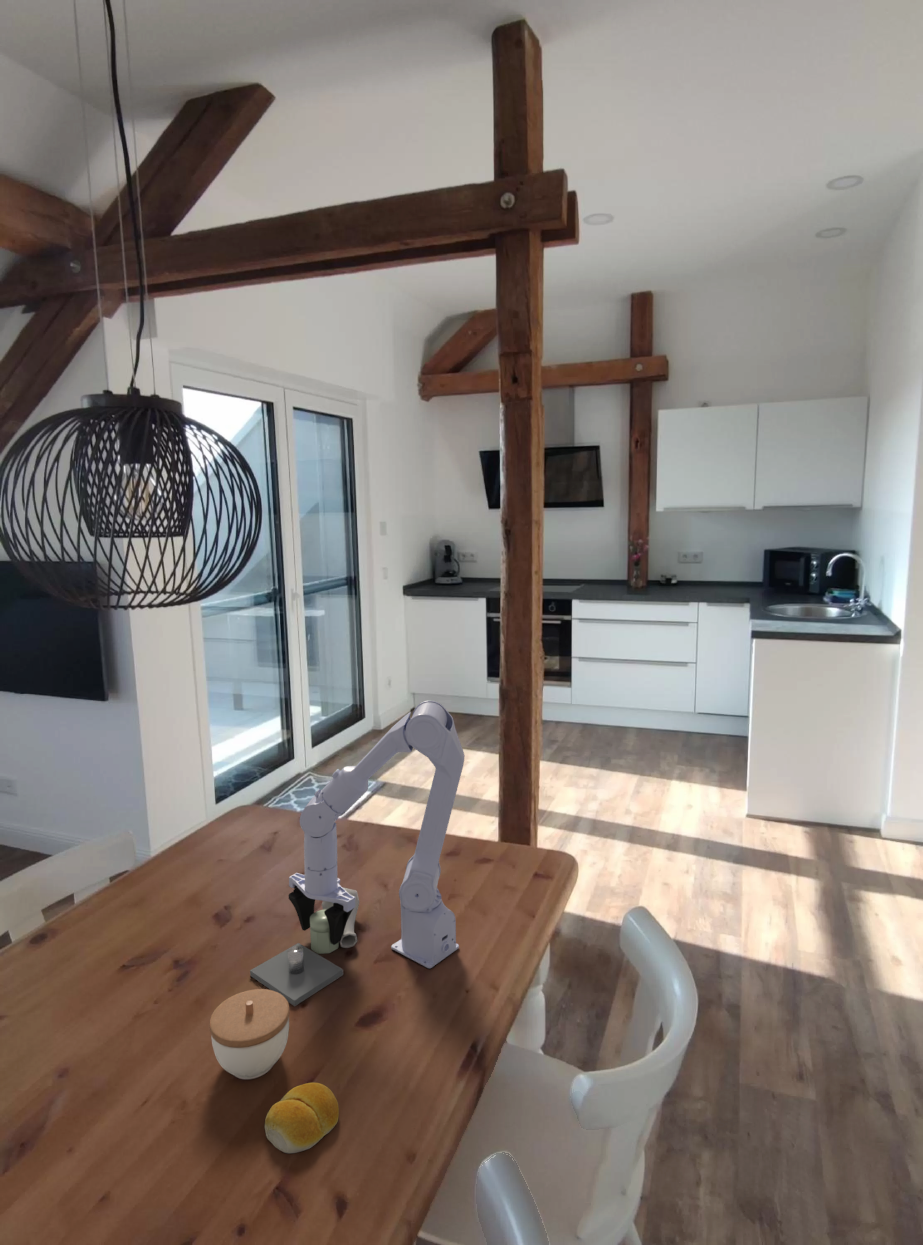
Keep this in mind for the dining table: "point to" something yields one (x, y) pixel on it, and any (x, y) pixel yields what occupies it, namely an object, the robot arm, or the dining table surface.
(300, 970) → the stub
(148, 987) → the dining table surface
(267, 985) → the mat
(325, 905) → the flask
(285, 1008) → the lidded jar
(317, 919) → the cap
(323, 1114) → the bread roll
